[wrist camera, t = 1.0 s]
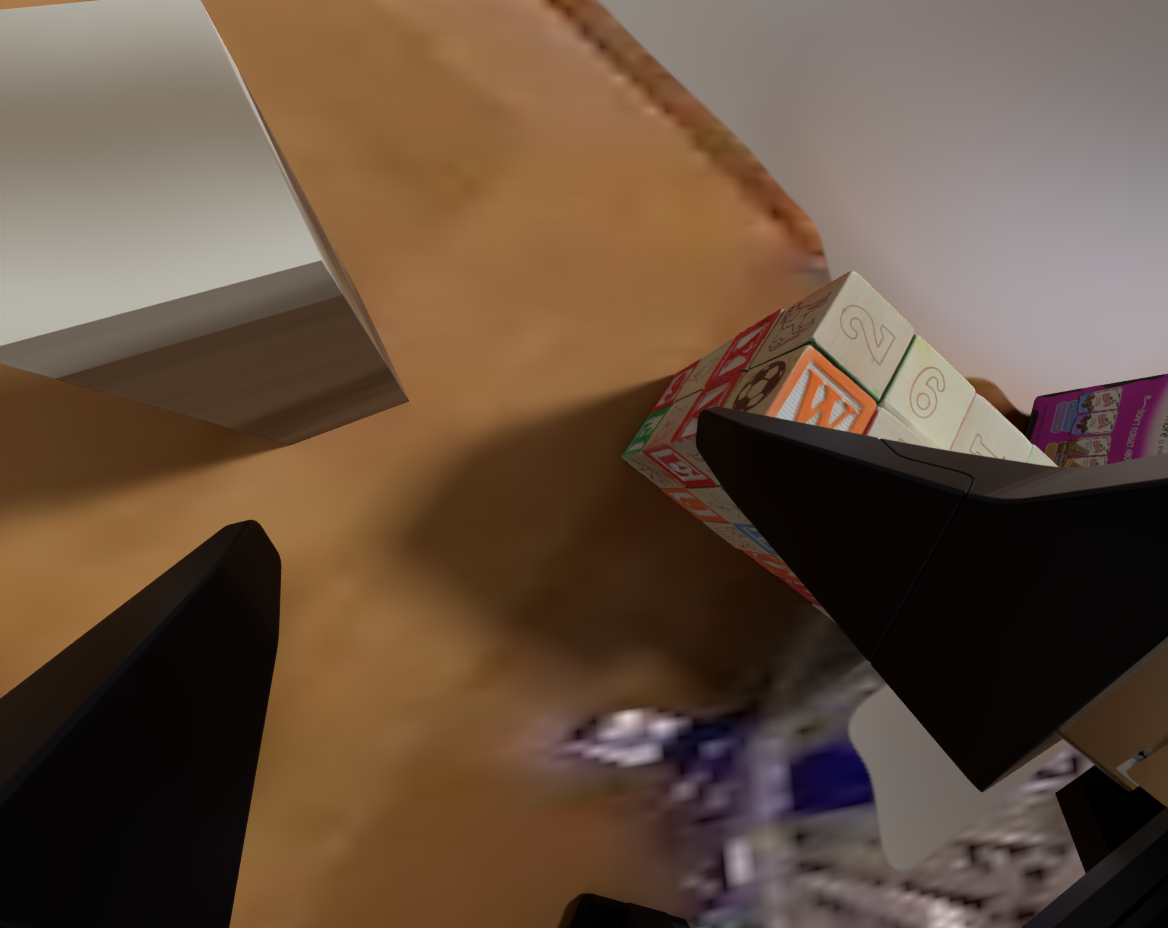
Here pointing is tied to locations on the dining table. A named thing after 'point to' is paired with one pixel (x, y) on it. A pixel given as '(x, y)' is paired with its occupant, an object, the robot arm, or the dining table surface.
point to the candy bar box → (1102, 423)
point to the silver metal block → (168, 230)
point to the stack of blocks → (818, 401)
